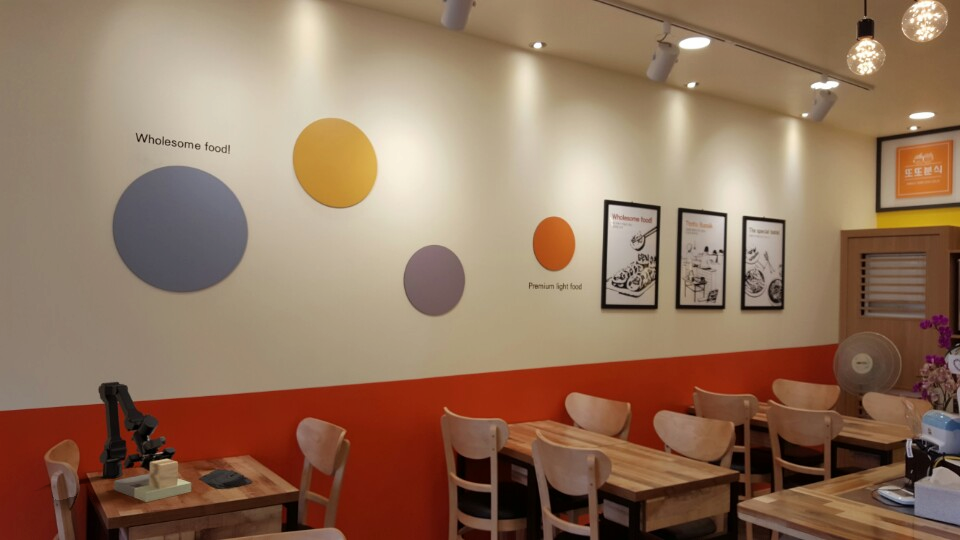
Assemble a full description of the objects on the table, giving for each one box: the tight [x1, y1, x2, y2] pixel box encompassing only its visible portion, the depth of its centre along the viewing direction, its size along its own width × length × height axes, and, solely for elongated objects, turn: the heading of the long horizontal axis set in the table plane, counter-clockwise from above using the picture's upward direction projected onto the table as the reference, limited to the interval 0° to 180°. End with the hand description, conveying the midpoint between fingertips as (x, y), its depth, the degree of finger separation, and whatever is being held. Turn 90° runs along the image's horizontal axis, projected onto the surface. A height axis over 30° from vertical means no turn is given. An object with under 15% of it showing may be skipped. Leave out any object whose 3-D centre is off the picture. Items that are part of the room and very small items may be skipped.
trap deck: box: [113, 473, 192, 503], centre depth 280 cm, size 25×18×4 cm
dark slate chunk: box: [198, 468, 253, 490], centre depth 296 cm, size 15×22×5 cm
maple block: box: [149, 459, 179, 489], centre depth 276 cm, size 8×7×9 cm
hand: (157, 475), depth 278 cm, fingers closed
